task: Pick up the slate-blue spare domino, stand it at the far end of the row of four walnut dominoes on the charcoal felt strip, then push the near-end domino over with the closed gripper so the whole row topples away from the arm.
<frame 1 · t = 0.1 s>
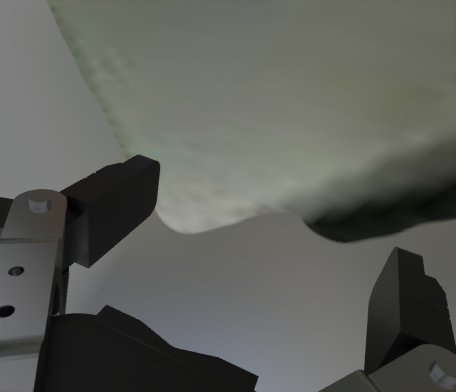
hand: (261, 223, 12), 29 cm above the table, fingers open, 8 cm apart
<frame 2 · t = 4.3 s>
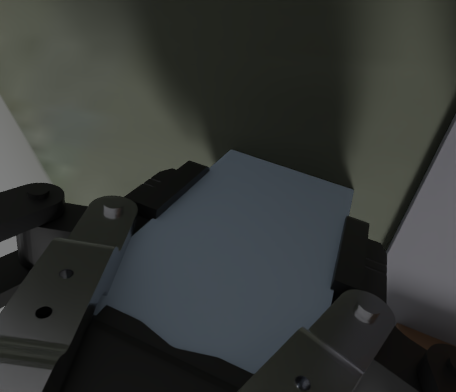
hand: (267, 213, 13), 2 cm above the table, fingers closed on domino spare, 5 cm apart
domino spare: (284, 186, 15), on the table, touching gripper
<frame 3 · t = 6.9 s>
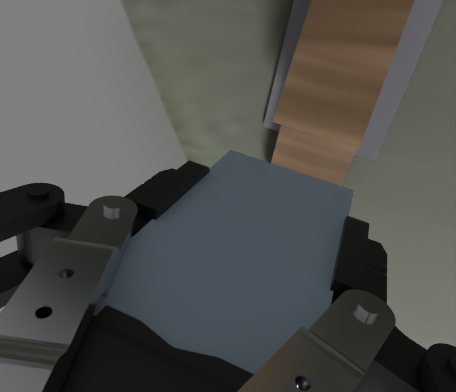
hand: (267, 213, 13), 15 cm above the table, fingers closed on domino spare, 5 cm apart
domino 4: (347, 47, 22), point 1 cm above the table, tilted 90°, touching domino 3, felt strip
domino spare: (284, 187, 15), point 12 cm above the table, touching gripper
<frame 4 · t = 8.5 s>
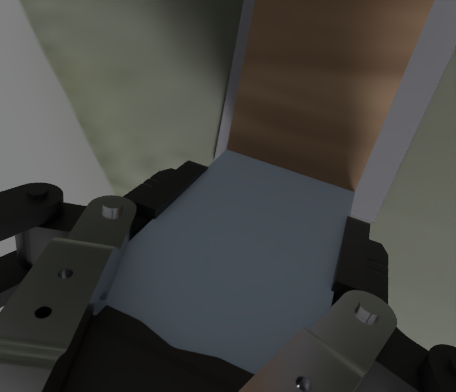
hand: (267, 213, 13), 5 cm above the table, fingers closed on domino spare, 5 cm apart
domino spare: (283, 188, 14), point 4 cm above the table, touching domino 3, gripper
when the fingers open (4 cm above the table, at t = 9.7 s): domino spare stays where it is, resting on domino 3.
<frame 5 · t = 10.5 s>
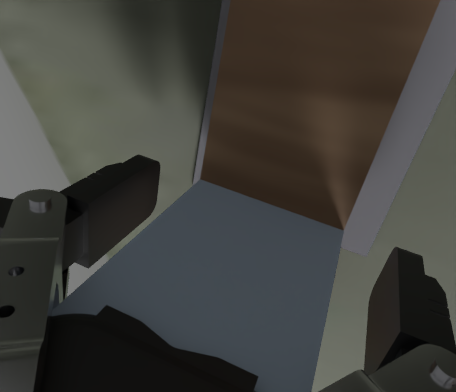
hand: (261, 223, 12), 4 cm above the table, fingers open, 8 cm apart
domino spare: (263, 223, 13), point 4 cm above the table, touching domino 3
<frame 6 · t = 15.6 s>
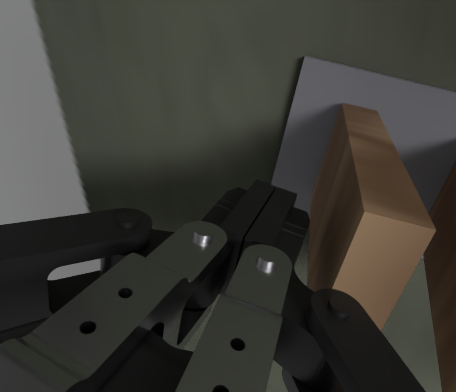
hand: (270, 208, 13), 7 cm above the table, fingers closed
domino 1: (341, 156, 18), point 1 cm above the table, tilted 9°, touching felt strip
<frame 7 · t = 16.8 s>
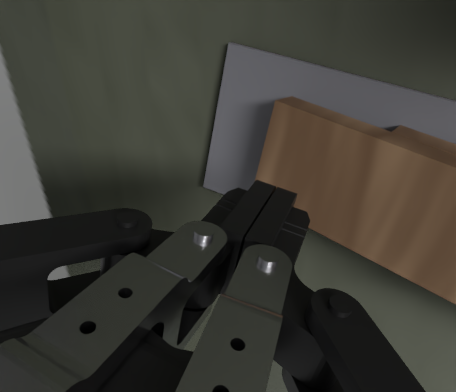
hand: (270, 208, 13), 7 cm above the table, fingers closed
domino 2: (374, 179, 17), point 1 cm above the table, tilted 75°, touching domino 1, domino 3, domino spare, felt strip
domino 1: (270, 148, 18), point 2 cm above the table, tilted 75°, touching domino 2
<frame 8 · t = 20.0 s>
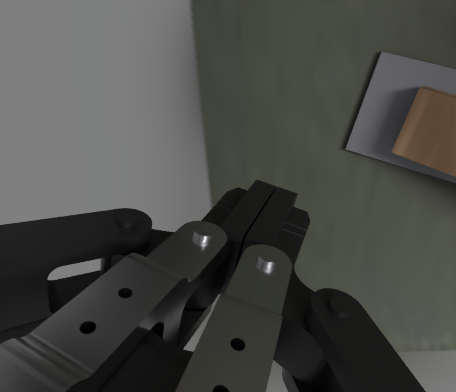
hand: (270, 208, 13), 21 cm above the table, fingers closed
domino 1: (407, 119, 28), point 2 cm above the table, tilted 75°, touching domino 2
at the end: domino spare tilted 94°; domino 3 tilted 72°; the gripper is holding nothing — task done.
